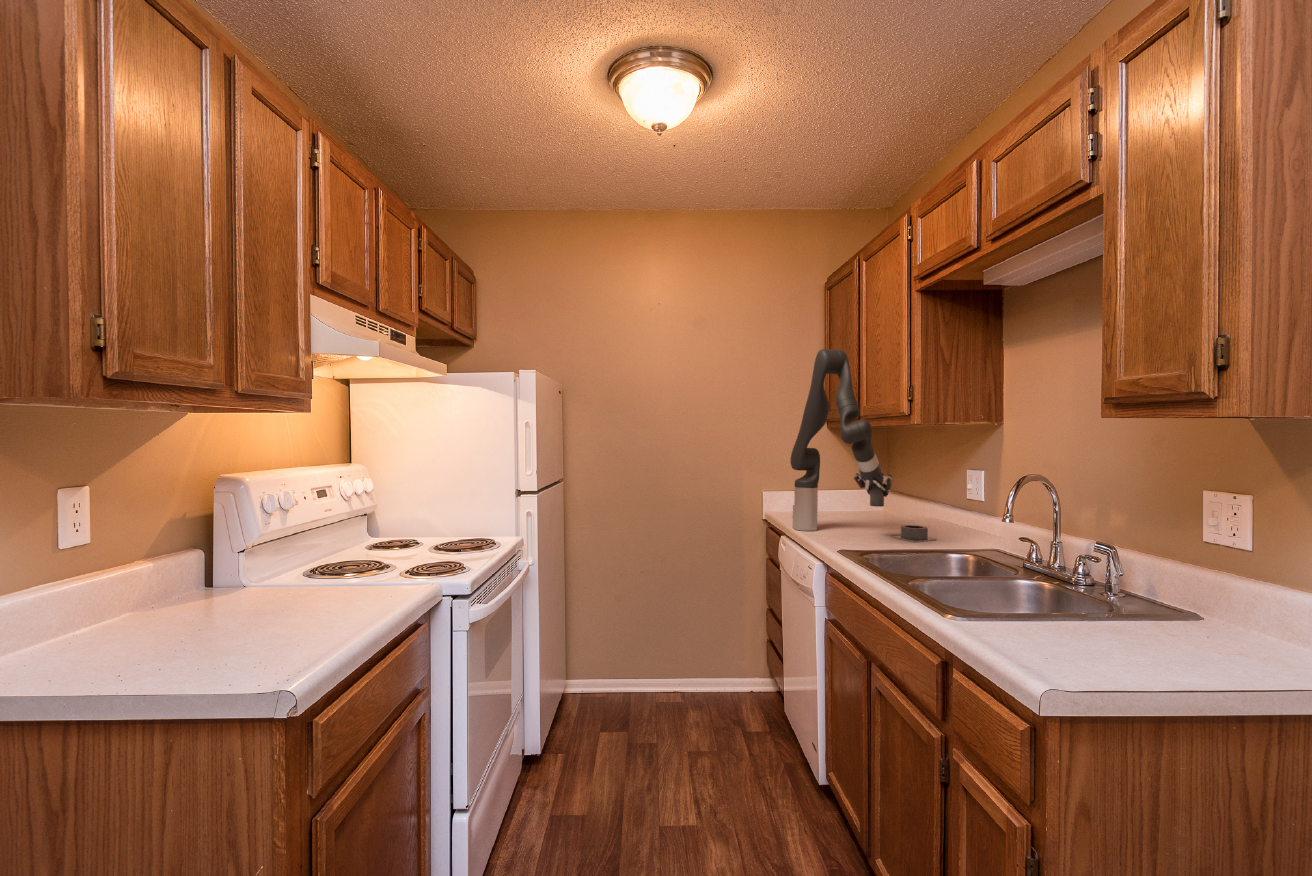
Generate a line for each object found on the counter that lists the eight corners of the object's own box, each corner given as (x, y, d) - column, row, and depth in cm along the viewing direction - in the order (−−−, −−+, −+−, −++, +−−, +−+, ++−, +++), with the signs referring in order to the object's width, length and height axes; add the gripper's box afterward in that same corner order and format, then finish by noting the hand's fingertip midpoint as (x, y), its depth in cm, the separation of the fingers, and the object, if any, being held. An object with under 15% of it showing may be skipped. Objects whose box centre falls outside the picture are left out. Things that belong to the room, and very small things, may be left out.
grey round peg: (866, 505, 237) (867, 479, 237) (876, 504, 240) (877, 478, 240) (876, 506, 233) (877, 480, 233) (887, 506, 235) (887, 479, 235)
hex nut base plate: (891, 537, 235) (891, 525, 235) (912, 535, 240) (912, 524, 240) (915, 542, 225) (915, 529, 225) (936, 540, 230) (936, 528, 230)
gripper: (890, 457, 226) (900, 488, 235) (851, 455, 235) (862, 485, 244) (885, 472, 222) (895, 503, 231) (845, 470, 231) (857, 500, 240)
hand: (878, 494), depth 238 cm, fingers closed on grey round peg, 5 cm apart
